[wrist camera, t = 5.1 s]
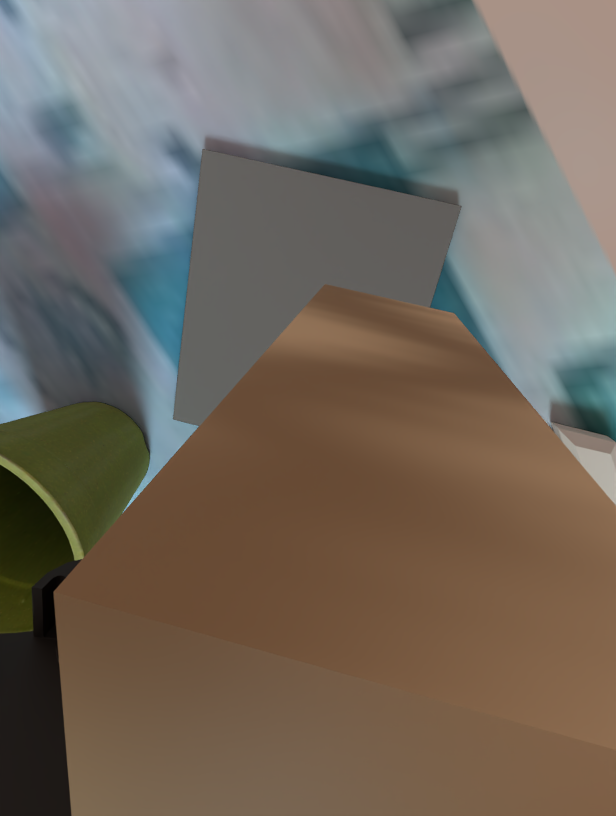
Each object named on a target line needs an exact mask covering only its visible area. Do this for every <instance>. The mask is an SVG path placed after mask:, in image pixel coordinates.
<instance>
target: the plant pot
mask: <svg viewBox="0 0 616 816" xmlns="http://www.w3.org/2000/svg"><path fill="white" fill-rule="evenodd" d="M149 459H150V458H149V452H148V450H147V447H146V444H145V441H144V438H143V434H142V432H141V430H140V429H139V427H138V426H137V425H136V423H135V422H134V421H133V420H132V419H131V418H130V417H129V416H127V415H126V414H125V413H123V412H122V411H120V410H119V409H117V408H115V407H113V406H110V405H107V404H104V403H100V402H83V403H77V404H73V405H69V406H65V407H62V408H58V409H55V410H51V411H47V412H44V413H40V414H36V415H32V416H29V417H25V418H21V419H18V420H14V421H11V422H7V423H3V424H0V633H18V632H27V631H33V612H32V586H34V585H35V584H36V583H37V582H38V581H39V580H40V579H41V578H42V577H43V576H44V575H45V574H47V573H48V572H50V571H52V570H54V569H56V568H58V567H60V566H62V565H63V564H65V563H67V562H71V561H75V560H80V559H83V558H84V557H85V556H86V554H87V553H88V552H89V551H90V550H91V549H92V548H93V546H94V545H95V544H96V543H97V542H98V541H99V540H100V539H101V537H102V536H103V535H104V534H105V533H106V532H107V531H108V529H109V528H110V527H111V526H112V525H113V524H114V523H115V522H116V520H117V519H118V518H119V517H120V516H121V514H122V513H123V511H124V509H125V508H126V506H127V504H128V503H129V501H130V500H131V498H132V496H133V495H134V493H135V491H136V490H137V488H138V487H139V485H140V483H141V482H142V480H143V479H144V477H145V475H146V473H147V470H148V466H149Z"/></svg>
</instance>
